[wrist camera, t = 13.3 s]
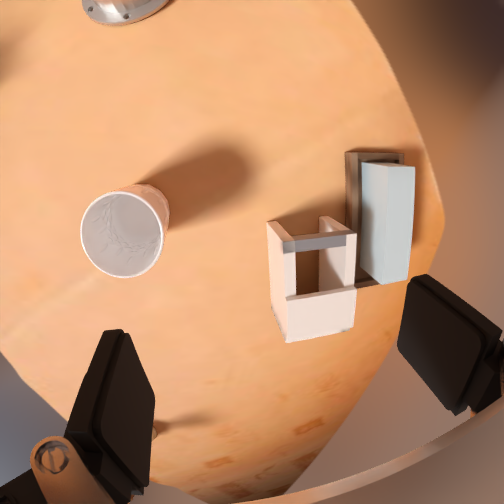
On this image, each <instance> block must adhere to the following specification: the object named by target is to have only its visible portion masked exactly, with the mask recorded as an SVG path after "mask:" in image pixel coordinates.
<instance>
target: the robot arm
mask: <svg viewBox="0 0 504 504" xmlns="http://www.w3.org/2000/svg"><path fill="white" fill-rule="evenodd" d="M168 1H169V0H82V6H83V9H84V11H85V13H86V14H87V15H88V16H89V17H90V18H91V19H92V20H94V21H95V22H97V23H100V24H103V25H110V26H118V25H125V24H131V23H134V22H137V21H140V20H142V19H144V18H146V17H149V16H150V15H152V14H154V13H155V12H157V11H158V10H160V9H161V8H162V7H163V6H165V5H166V4H167V3H168ZM127 18H128V19H127ZM501 333H502V330H501V329H500V328H499V327H498V326H496V325H495V324H494V323H492V322H491V321H490V320H489V319H487V318H486V317H485V316H484V315H482V314H481V313H480V312H478V311H477V310H476V309H475V308H473V307H472V306H471V305H469V304H468V303H467V302H465V301H464V300H463V299H461V298H460V297H459V296H457V295H456V294H454V293H453V292H452V291H450V290H449V289H447V288H446V287H445V286H443V285H442V284H441V283H439V282H438V281H436V280H435V279H434V278H432V277H431V276H429V275H428V274H423V275H419V276H415V277H413V278H412V279H411V280H410V282H409V283H408V285H407V291H406V297H405V304H404V309H403V315H402V321H401V326H400V331H399V336H398V341H397V347H398V350H399V352H400V353H401V354H402V355H403V357H404V358H405V359H406V360H407V361H408V363H409V364H410V365H411V366H412V367H413V369H414V370H415V371H416V372H417V373H418V375H419V376H420V377H421V378H422V379H423V381H424V382H425V383H426V384H427V385H428V387H429V388H430V389H431V390H432V392H433V393H434V394H435V395H436V397H437V398H438V399H439V400H440V402H441V403H442V404H443V405H444V407H445V408H446V409H447V410H451V411H452V413H453V414H454V415H455V416H456V415H458V414H460V413H461V412H463V411H465V410H466V409H467V406H468V405H469V406H470V408H471V418H470V419H468V420H467V421H466V422H464V423H462V424H460V425H459V426H457V427H456V428H454V429H452V430H451V431H449V432H447V433H445V434H444V435H442V436H440V437H438V438H436V439H435V440H433V441H431V442H429V443H427V444H425V445H423V446H421V447H419V448H417V449H415V450H413V451H411V452H409V453H407V454H405V455H403V456H400V457H398V458H396V459H394V460H392V461H389V462H387V463H384V464H382V465H380V466H377V467H375V468H372V469H370V470H367V471H364V472H362V473H359V474H356V475H353V476H350V477H347V478H345V479H342V480H339V481H335V482H332V483H329V484H326V485H322V486H319V487H315V488H311V489H307V490H304V491H300V492H295V493H291V494H287V495H282V496H277V497H272V498H267V499H261V500H256V501H249V502H242V503H235V504H504V339H503V341H502V342H501V341H500V340H499V338H500V336H501ZM154 408H155V395H154V392H153V390H152V387H151V385H150V383H149V381H148V378H147V376H146V374H145V372H144V369H143V367H142V364H141V362H140V360H139V357H138V355H137V352H136V350H135V347H134V344H133V342H132V339H131V337H130V335H129V333H124V331H123V330H122V329H116V330H106V331H104V332H103V334H102V336H101V339H100V341H99V344H98V346H97V348H96V351H95V353H94V356H93V358H92V361H91V363H90V366H89V368H88V371H87V373H86V375H85V376H84V379H83V381H82V384H81V387H80V389H79V392H78V395H77V398H76V400H75V403H74V406H73V409H72V412H71V415H70V418H69V421H68V424H67V428H66V430H65V434H64V437H58V436H52V437H47V438H45V439H43V440H41V441H40V442H38V443H37V444H36V446H35V447H34V448H33V450H32V453H31V456H30V463H31V469H30V470H28V471H27V472H25V473H23V474H21V475H20V476H18V477H16V478H15V479H13V480H11V481H10V482H8V483H6V484H5V485H3V486H1V487H0V504H130V503H129V502H130V501H131V495H143V494H144V487H147V486H148V485H149V473H150V456H151V442H152V430H153V419H154Z"/></svg>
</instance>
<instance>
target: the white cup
mask: <svg viewBox="0 0 504 504" xmlns="http://www.w3.org/2000/svg"><path fill="white" fill-rule="evenodd" d="M169 216H170V210H169V205H168V200H167V199H166V198H165V196H164V195H163V194H162V192H161V191H160V190H159V189H157V188H155V187H153V186H151V185H149V184H135V185H131V186H127V187H123V188H119V189H117V190H114V191H111V192H108V193H105V194H103V195H101V196H99V197H98V198H97V199H95V200H94V201H93V202H92V203H91V204H90V205H89V207H88V208H87V210H86V211H85V213H84V216H83V219H82V222H81V230H80V234H81V241H82V245H83V248H84V251H85V253H86V255H87V256H88V258H89V259H90V261H91V262H92V263H93V264H94V265H95V266H96V267H97V268H98V269H100V270H101V271H103V272H104V273H106V274H108V275H111V276H114V277H119V278H131V277H135V276H139V275H141V274H143V273H145V272H146V271H148V270H149V269H150V268H151V267H152V266H153V265H154V264H155V263H156V262H157V260H158V259H159V257H160V255H161V252H162V249H163V245H164V241H165V237H166V233H167V230H168V224H169Z"/></svg>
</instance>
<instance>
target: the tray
mask: <svg viewBox="0 0 504 504" xmlns="http://www.w3.org/2000/svg"><path fill="white" fill-rule="evenodd" d="M362 162H389V163H395V164H401V165H404V154H401V153H381V152H345V178H346V227H347V228H349V229H350V230H352V231H353V232H355V233H357V240H356V260H355V276H354V287H355V288H356V289H357V288H362V287H367V286H373V285H378V284H380V283H379V282H378V281H376V280H375V279H374V278H373V277H372V276H370V275H369V274H368V273H367V272H366V271H365V270H363V269H362V268H361V267H360V250H361V225H362Z"/></svg>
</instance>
